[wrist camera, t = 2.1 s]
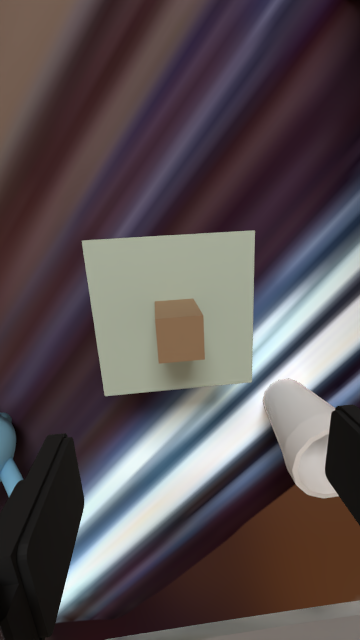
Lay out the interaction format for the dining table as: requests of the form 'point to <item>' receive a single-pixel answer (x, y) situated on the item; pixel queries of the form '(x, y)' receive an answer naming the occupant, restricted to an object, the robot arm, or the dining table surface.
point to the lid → (172, 310)
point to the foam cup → (301, 433)
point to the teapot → (8, 454)
